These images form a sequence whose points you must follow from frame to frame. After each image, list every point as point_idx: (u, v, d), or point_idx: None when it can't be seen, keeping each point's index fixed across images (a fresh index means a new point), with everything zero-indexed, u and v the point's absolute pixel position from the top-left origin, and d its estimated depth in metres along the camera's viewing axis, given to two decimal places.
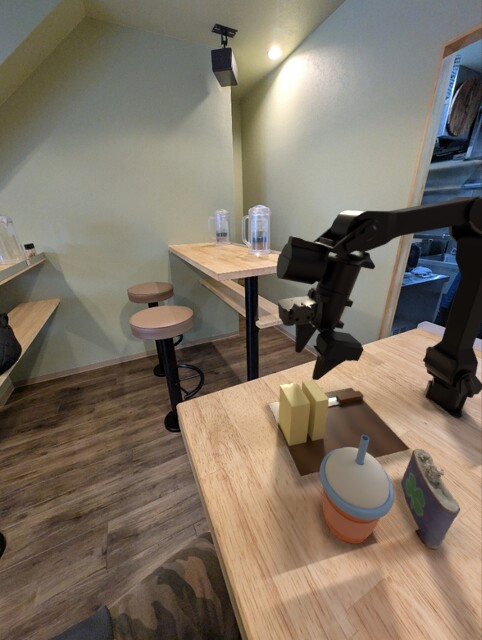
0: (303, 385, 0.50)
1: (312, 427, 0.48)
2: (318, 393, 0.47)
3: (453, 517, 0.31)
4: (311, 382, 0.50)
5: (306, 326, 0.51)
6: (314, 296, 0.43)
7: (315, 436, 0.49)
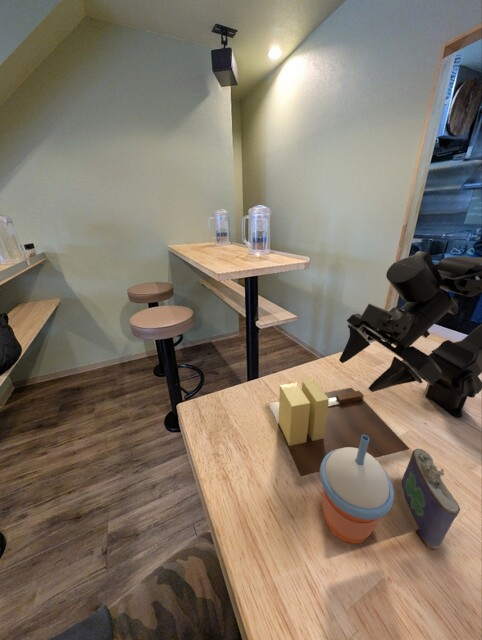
0: (303, 385, 0.50)
1: (312, 427, 0.48)
2: (318, 393, 0.47)
3: (453, 517, 0.31)
4: (311, 382, 0.50)
5: (360, 341, 0.52)
6: None
7: (315, 436, 0.49)
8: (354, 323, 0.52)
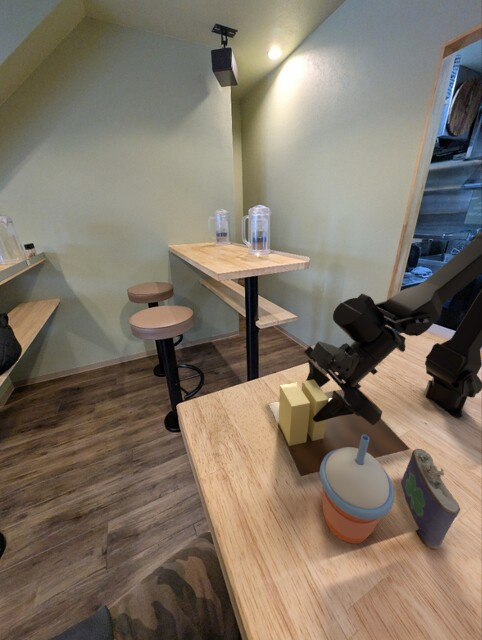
0: (303, 385, 0.50)
1: (312, 427, 0.48)
2: (318, 393, 0.47)
3: (453, 517, 0.31)
4: (311, 382, 0.50)
5: (320, 377, 0.52)
6: (349, 352, 0.46)
7: (315, 437, 0.49)
8: (310, 356, 0.53)
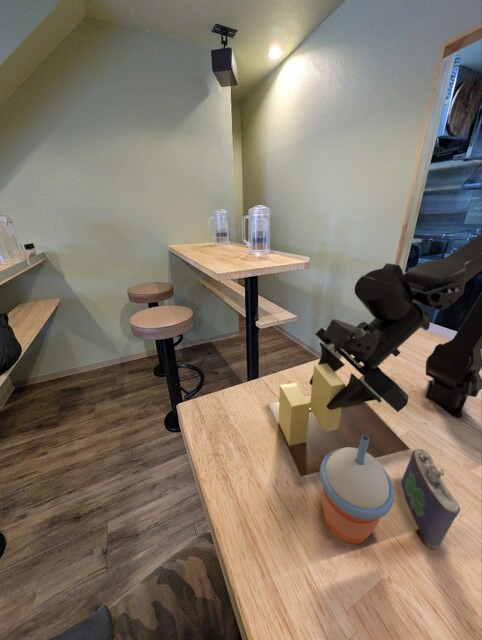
0: (315, 369, 0.45)
1: (325, 416, 0.43)
2: (333, 378, 0.42)
3: (453, 517, 0.31)
4: (324, 366, 0.45)
5: (333, 361, 0.47)
6: (368, 331, 0.41)
7: (329, 427, 0.44)
8: (322, 338, 0.48)
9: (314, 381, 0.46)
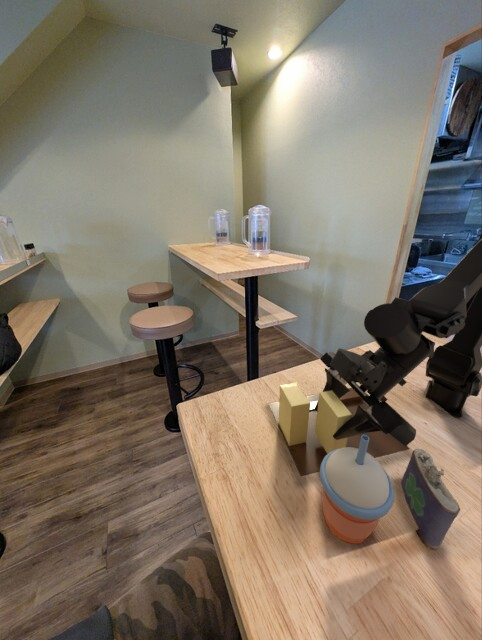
0: (320, 397, 0.45)
1: (331, 445, 0.43)
2: (339, 407, 0.42)
3: (453, 517, 0.31)
4: (329, 393, 0.45)
5: (338, 388, 0.46)
6: (374, 360, 0.41)
7: None
8: (327, 363, 0.47)
9: (320, 408, 0.46)
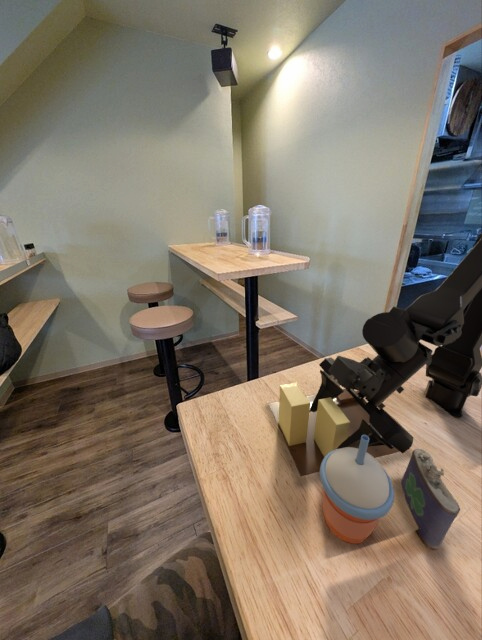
0: (319, 404, 0.45)
1: (330, 451, 0.43)
2: (337, 415, 0.42)
3: (453, 517, 0.31)
4: (328, 400, 0.45)
5: (333, 389, 0.48)
6: (372, 368, 0.41)
7: None
8: (326, 370, 0.48)
9: (319, 414, 0.46)
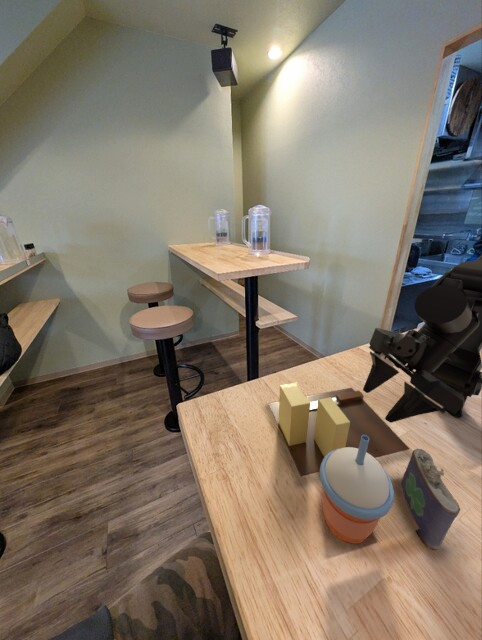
0: (319, 404, 0.45)
1: (330, 451, 0.43)
2: (337, 415, 0.42)
3: (453, 517, 0.31)
4: (328, 400, 0.45)
5: (385, 368, 0.49)
6: (415, 337, 0.42)
7: None
8: (374, 350, 0.50)
9: (319, 414, 0.46)
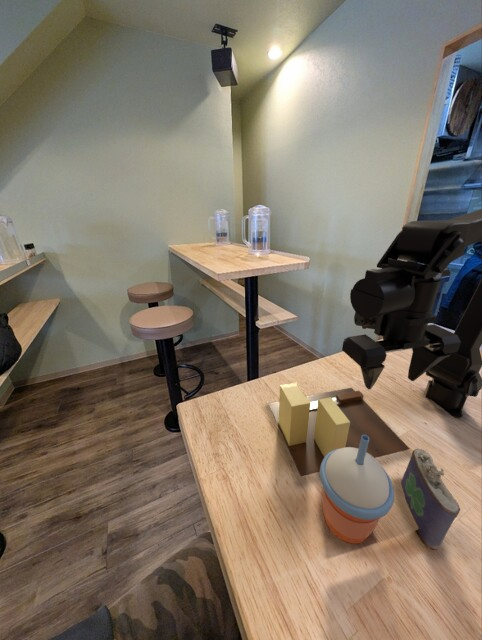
0: (319, 404, 0.45)
1: (330, 451, 0.43)
2: (337, 415, 0.42)
3: (453, 517, 0.31)
4: (328, 400, 0.45)
5: (421, 353, 0.45)
6: None
7: None
8: None
9: (319, 414, 0.46)
